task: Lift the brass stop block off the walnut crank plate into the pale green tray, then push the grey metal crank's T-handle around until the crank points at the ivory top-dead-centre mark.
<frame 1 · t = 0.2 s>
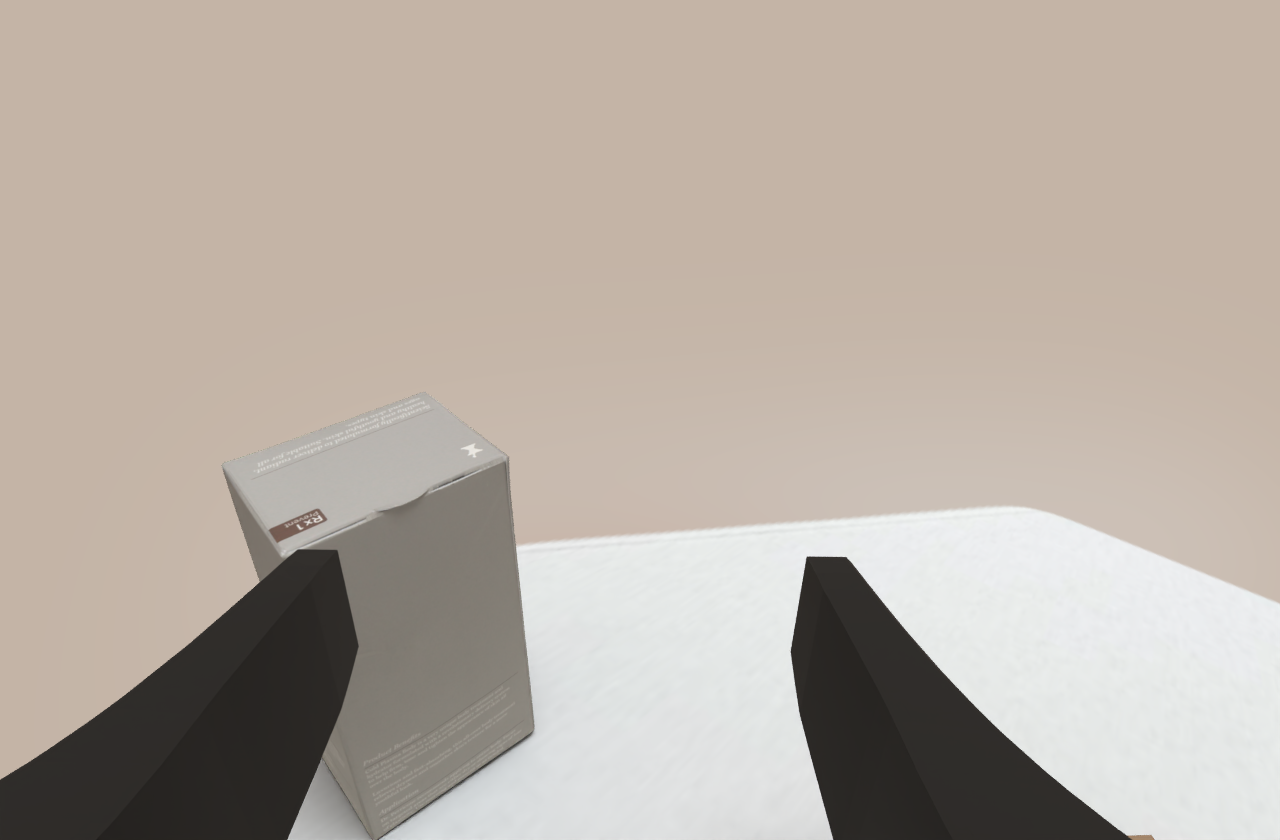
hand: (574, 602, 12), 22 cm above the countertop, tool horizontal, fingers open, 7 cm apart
skincare box: (426, 750, 35), on the countertop
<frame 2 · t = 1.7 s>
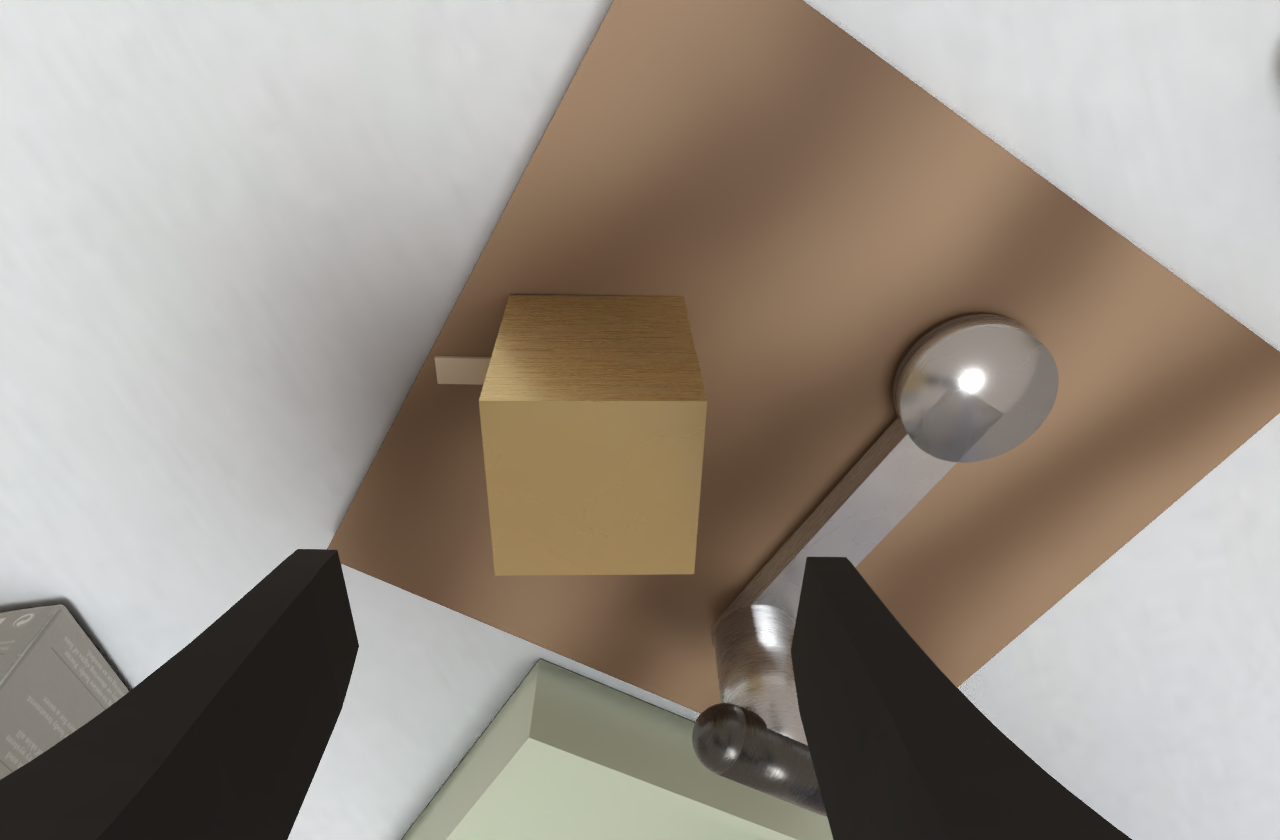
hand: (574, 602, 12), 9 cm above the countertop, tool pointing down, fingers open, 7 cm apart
tray: (606, 812, 30), on the countertop
stop block: (597, 373, 19), point 1 cm above the countertop, touching crank plate
crank plate: (782, 453, 22), on the countertop
crank: (885, 573, 18), point 4 cm above the countertop, hinge at 60.0°
skincare box: (62, 692, 27), on the countertop
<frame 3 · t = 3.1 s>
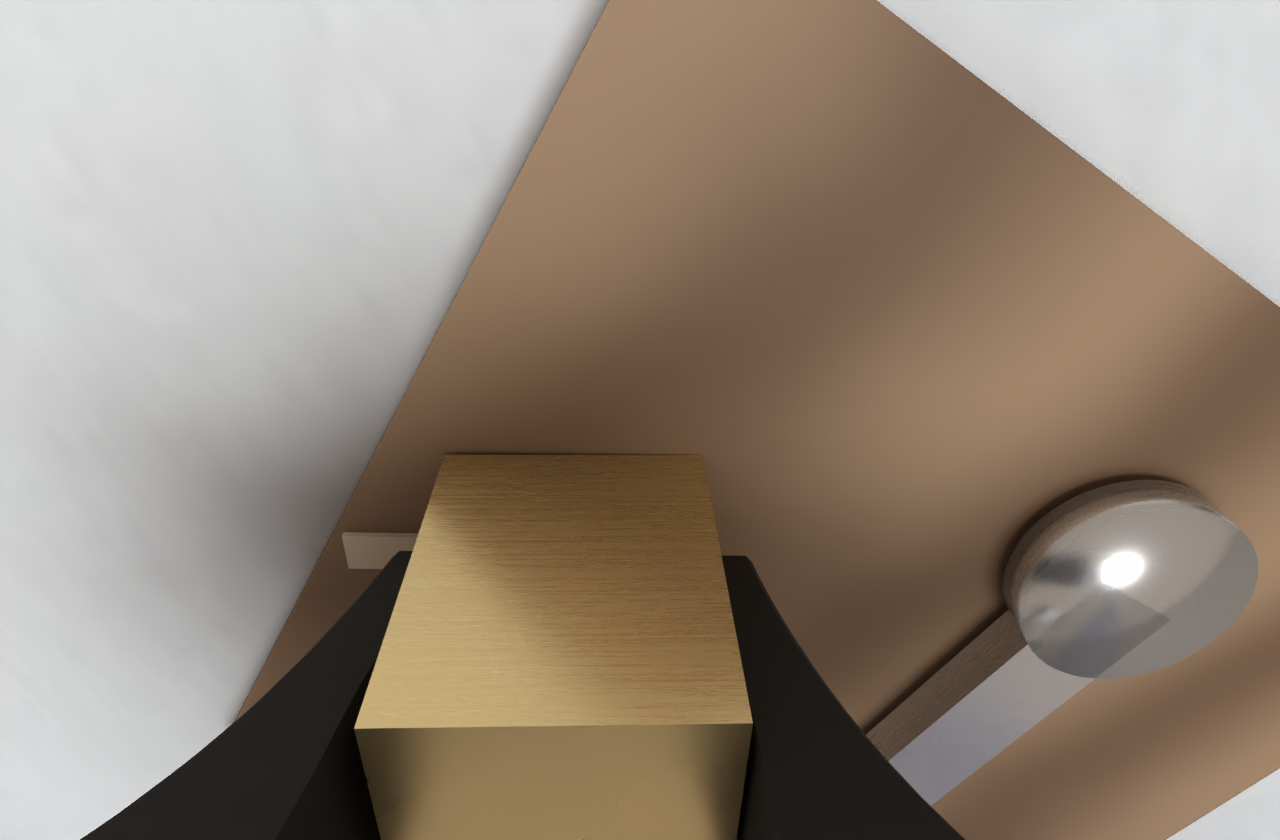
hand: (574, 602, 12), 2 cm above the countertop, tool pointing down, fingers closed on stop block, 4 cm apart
stop block: (576, 554, 13), point 1 cm above the countertop, touching crank plate, gripper
crank plate: (835, 635, 16), on the countertop
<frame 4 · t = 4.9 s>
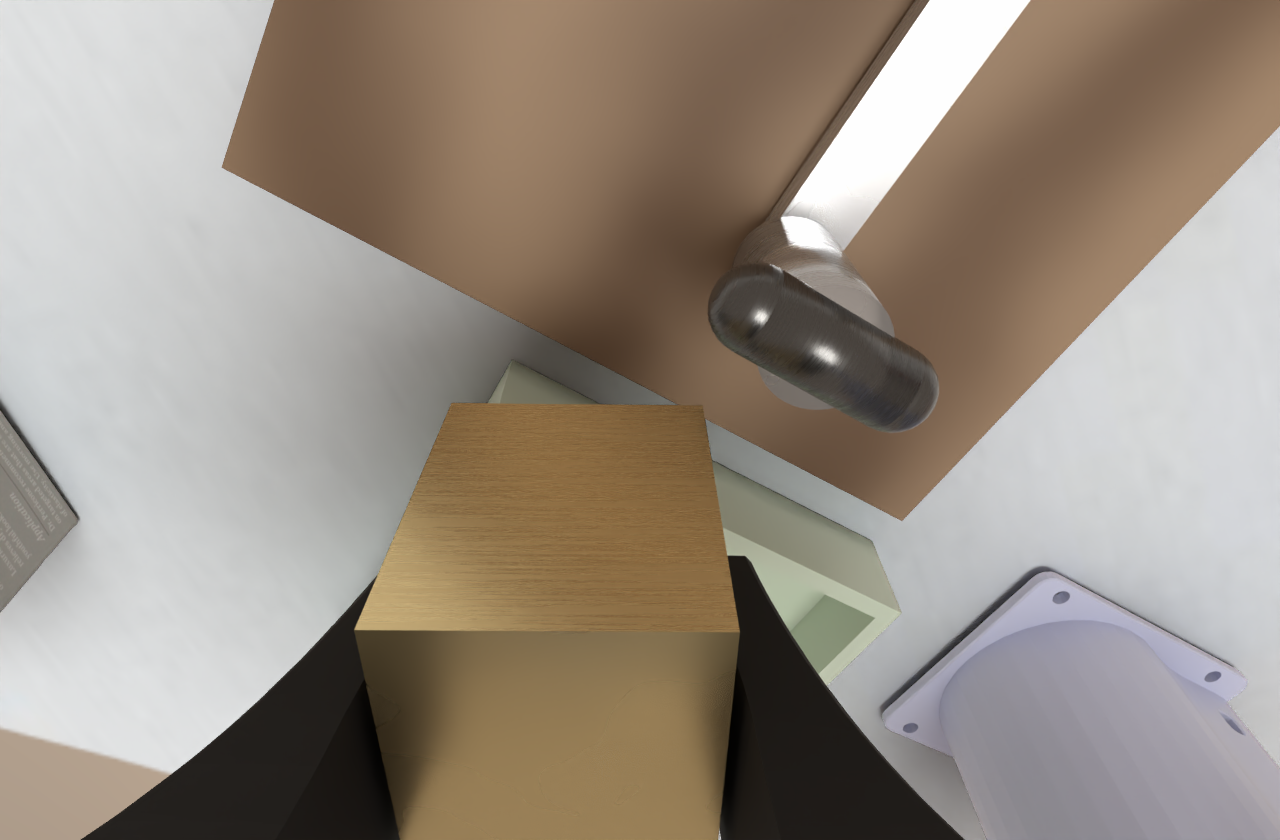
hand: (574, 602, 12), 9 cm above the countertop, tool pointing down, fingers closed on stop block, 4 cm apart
tray: (600, 594, 25), on the countertop
stop block: (580, 506, 13), point 8 cm above the countertop, touching gripper
crank plate: (819, 13, 16), on the countertop
crank: (973, 78, 13), point 4 cm above the countertop, hinge at 60.0°
when the fingers open (4 cm above the countertop, at t = 7.0 s): stop block stays where it is, resting on tray.
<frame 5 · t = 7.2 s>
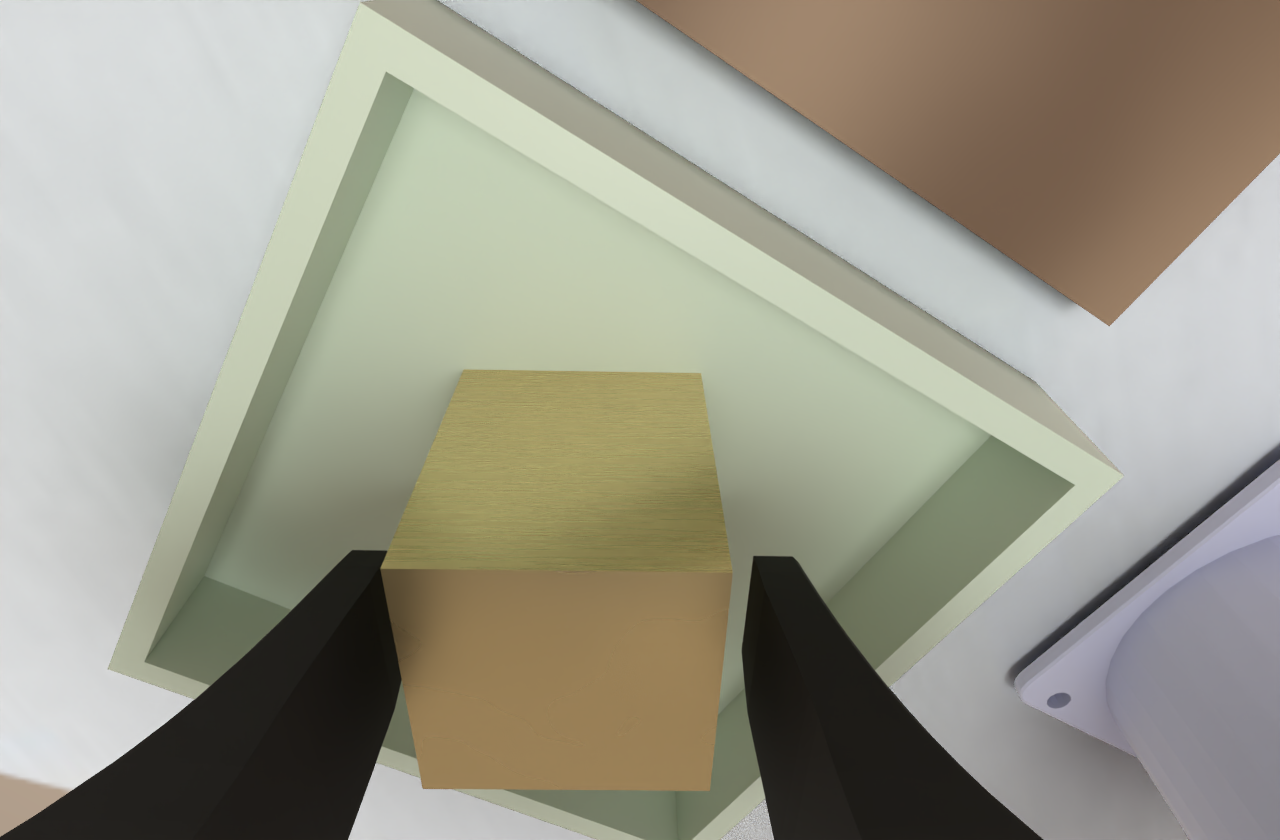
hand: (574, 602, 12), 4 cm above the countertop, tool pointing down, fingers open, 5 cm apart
tray: (586, 474, 15), on the countertop
stop block: (584, 469, 14), point 1 cm above the countertop, touching tray
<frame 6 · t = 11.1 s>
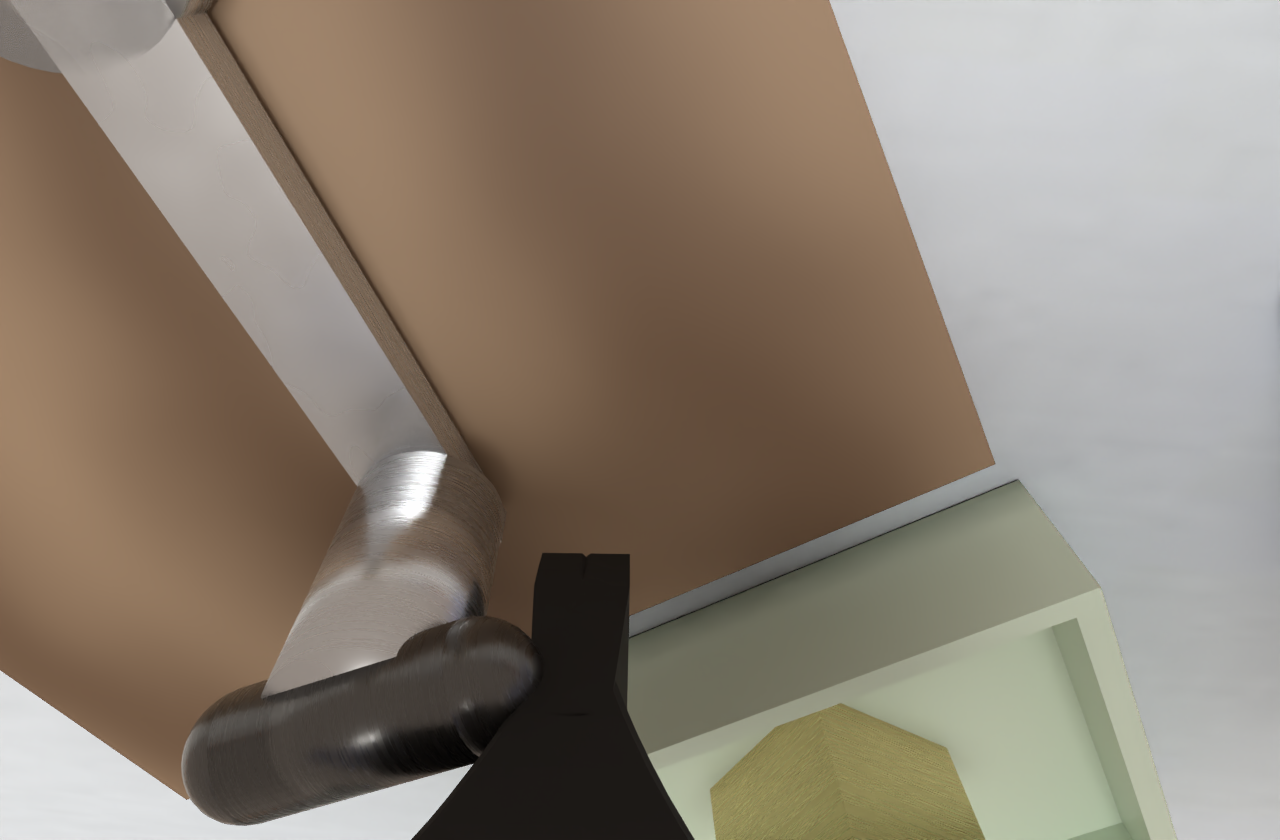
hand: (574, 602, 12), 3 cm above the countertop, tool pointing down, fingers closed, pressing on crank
tray: (839, 748, 19), on the countertop
stop block: (826, 768, 19), point 1 cm above the countertop, touching tray
crank plate: (244, 266, 13), on the countertop
crank: (182, 306, 9), point 4 cm above the countertop, hinge at 52.7°, touching gripper
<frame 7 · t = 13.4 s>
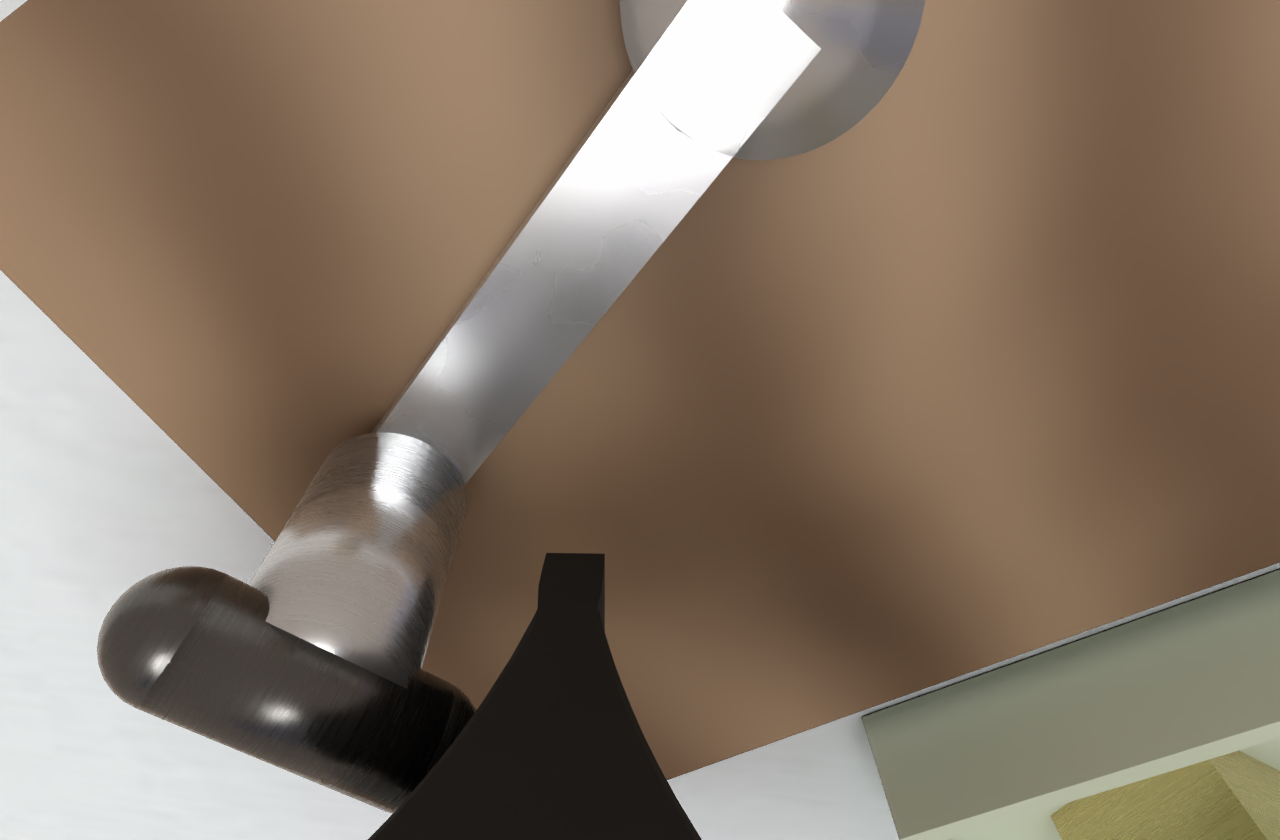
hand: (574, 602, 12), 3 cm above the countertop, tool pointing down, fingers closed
tray: (1168, 776, 20), on the countertop
stop block: (1170, 797, 19), point 1 cm above the countertop, touching tray
crank plate: (754, 321, 13), on the countertop
crank: (553, 331, 9), point 4 cm above the countertop, hinge at -7.0°, touching gripper
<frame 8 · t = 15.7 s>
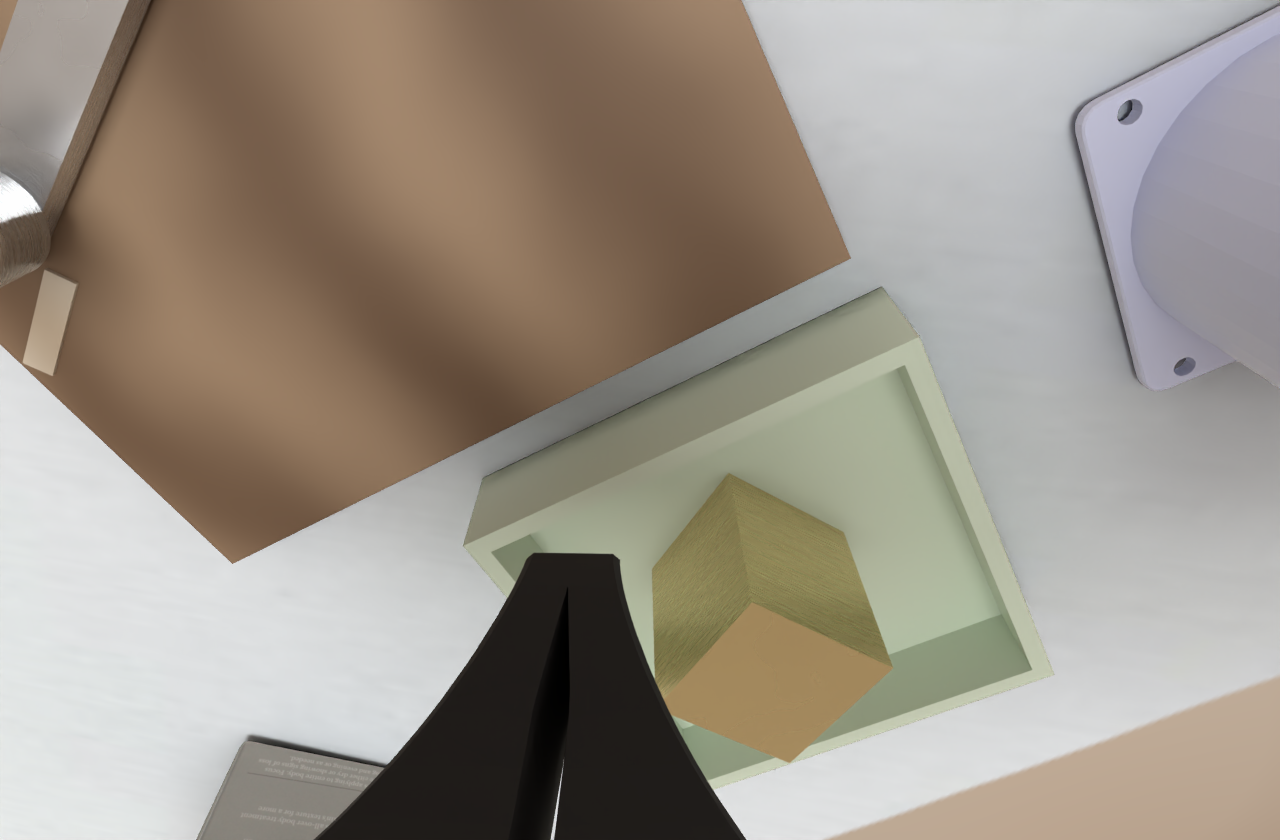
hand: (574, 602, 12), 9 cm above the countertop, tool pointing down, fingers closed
tray: (760, 542, 24), on the countertop
stop block: (746, 550, 23), point 1 cm above the countertop, touching tray
crank plate: (286, 97, 17), on the countertop
skincare box: (351, 796, 30), on the countertop
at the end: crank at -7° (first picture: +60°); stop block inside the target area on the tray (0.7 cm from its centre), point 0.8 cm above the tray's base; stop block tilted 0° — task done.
